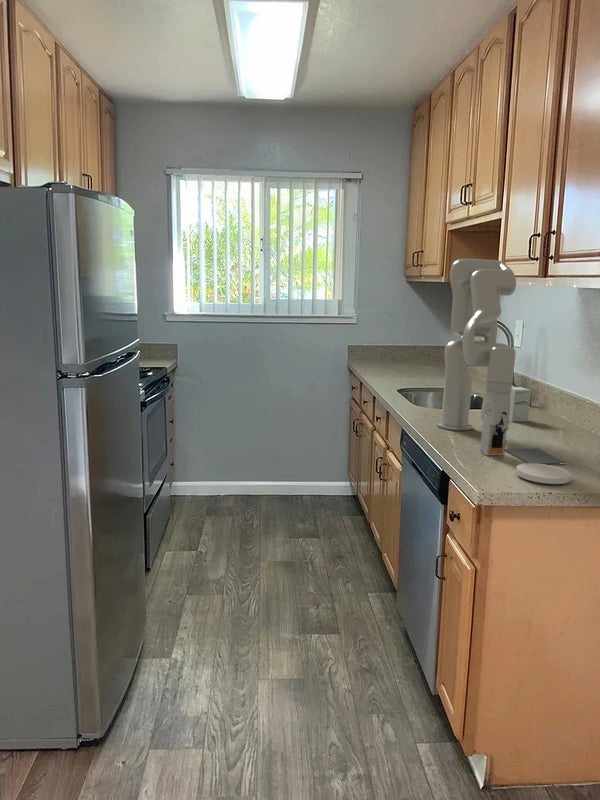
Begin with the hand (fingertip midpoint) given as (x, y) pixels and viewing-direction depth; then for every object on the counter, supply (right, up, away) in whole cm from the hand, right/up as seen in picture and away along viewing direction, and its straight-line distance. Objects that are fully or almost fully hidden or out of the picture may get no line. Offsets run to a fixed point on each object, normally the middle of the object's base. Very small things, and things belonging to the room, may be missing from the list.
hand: (492, 444), depth 197 cm
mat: (+12, -4, -1) cm, 13 cm away
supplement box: (+24, +6, +53) cm, 58 cm away
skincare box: (0, -3, +1) cm, 3 cm away
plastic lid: (+7, -8, -22) cm, 25 cm away
